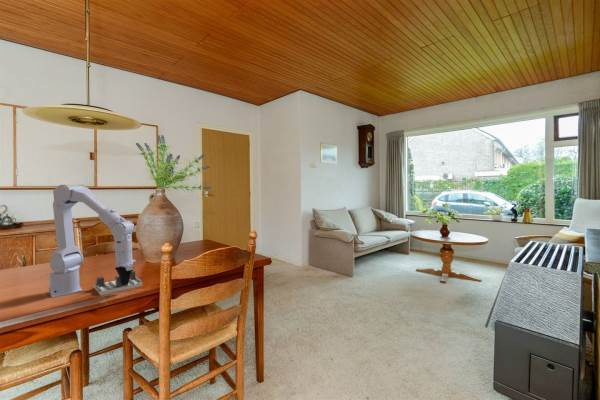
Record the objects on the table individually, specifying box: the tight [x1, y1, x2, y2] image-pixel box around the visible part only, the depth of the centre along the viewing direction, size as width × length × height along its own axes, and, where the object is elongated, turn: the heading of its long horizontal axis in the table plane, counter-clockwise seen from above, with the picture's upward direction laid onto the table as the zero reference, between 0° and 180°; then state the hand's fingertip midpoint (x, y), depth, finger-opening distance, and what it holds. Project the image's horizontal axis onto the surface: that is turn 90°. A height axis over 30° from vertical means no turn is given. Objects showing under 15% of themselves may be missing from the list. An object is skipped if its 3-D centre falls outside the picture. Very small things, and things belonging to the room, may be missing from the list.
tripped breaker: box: [114, 274, 125, 287], centre depth 116 cm, size 3×3×4 cm
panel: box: [93, 269, 143, 297], centre depth 118 cm, size 15×12×5 cm
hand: (124, 284), depth 112 cm, fingers closed
